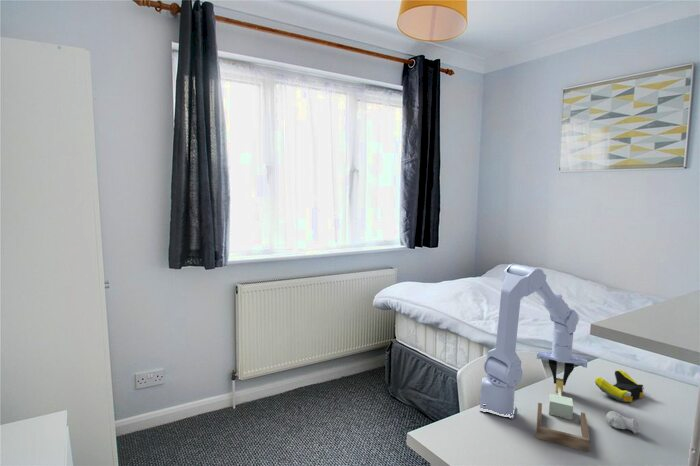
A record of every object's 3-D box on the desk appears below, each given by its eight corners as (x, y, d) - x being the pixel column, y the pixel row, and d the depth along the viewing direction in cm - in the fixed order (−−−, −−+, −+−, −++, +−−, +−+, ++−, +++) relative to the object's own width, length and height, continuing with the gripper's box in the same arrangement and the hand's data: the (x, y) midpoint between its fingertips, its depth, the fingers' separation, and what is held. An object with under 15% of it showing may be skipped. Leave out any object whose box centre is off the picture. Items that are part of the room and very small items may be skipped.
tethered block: (548, 414, 117) (549, 401, 116) (548, 387, 132) (549, 376, 132) (572, 419, 114) (573, 406, 114) (569, 392, 130) (570, 380, 129)
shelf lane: (536, 438, 105) (536, 427, 105) (537, 412, 118) (538, 402, 117) (588, 451, 100) (589, 440, 100) (584, 423, 112) (585, 413, 112)
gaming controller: (590, 392, 130) (623, 407, 121) (592, 376, 129) (625, 390, 121) (617, 382, 137) (649, 396, 128) (618, 367, 136) (651, 380, 128)
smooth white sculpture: (602, 427, 113) (611, 417, 115) (633, 442, 106) (643, 431, 108) (600, 414, 112) (610, 404, 114) (632, 429, 105) (641, 418, 107)
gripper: (587, 343, 130) (583, 383, 131) (538, 335, 136) (535, 373, 137) (589, 351, 123) (585, 392, 125) (537, 342, 130) (535, 382, 131)
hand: (559, 383), depth 131 cm, fingers closed on tethered block, 2 cm apart
